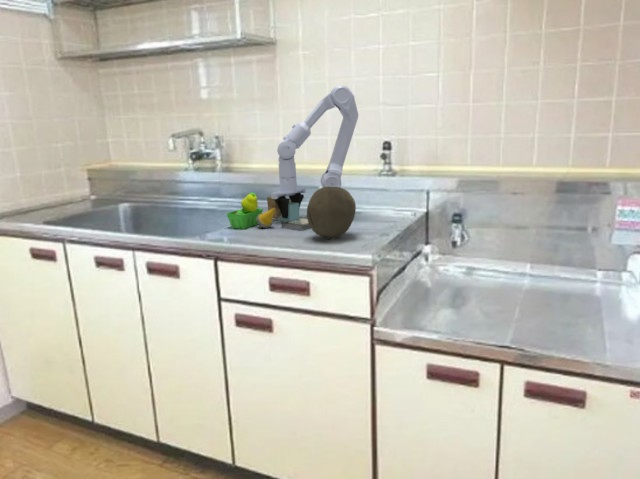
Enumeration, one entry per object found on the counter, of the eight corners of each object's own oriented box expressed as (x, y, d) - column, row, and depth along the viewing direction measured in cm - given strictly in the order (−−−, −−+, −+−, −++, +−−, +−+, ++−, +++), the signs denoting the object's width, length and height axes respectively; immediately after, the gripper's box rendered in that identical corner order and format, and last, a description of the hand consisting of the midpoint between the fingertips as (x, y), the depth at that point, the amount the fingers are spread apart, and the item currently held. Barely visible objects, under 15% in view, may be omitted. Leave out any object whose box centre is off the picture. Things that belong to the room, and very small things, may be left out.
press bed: (303, 222, 181) (302, 217, 181) (322, 224, 175) (322, 220, 175) (281, 227, 174) (281, 222, 174) (301, 230, 168) (301, 225, 168)
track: (280, 216, 194) (280, 213, 193) (289, 217, 191) (289, 215, 190) (257, 221, 186) (257, 219, 186) (266, 222, 183) (265, 220, 183)
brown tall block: (274, 214, 191) (273, 196, 189) (282, 215, 188) (281, 196, 187) (268, 216, 189) (267, 197, 187) (276, 217, 186) (274, 198, 185)
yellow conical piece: (266, 226, 180) (283, 207, 175) (264, 236, 176) (281, 216, 171) (253, 218, 178) (269, 198, 173) (250, 227, 174) (267, 208, 169)
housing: (290, 218, 188) (289, 199, 186) (299, 220, 185) (298, 200, 183) (281, 221, 185) (280, 201, 183) (290, 222, 182) (289, 202, 180)
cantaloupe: (353, 243, 149) (351, 190, 146) (304, 243, 152) (300, 191, 148) (359, 232, 163) (357, 182, 159) (313, 232, 165) (310, 184, 162)
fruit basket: (247, 221, 187) (244, 189, 184) (268, 223, 182) (265, 190, 180) (226, 228, 177) (223, 194, 175) (247, 230, 173) (244, 195, 170)
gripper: (294, 174, 189) (296, 212, 192) (263, 179, 179) (266, 219, 182) (309, 174, 184) (311, 213, 187) (278, 180, 174) (281, 221, 177)
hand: (290, 216), depth 184 cm, fingers closed on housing, 4 cm apart
